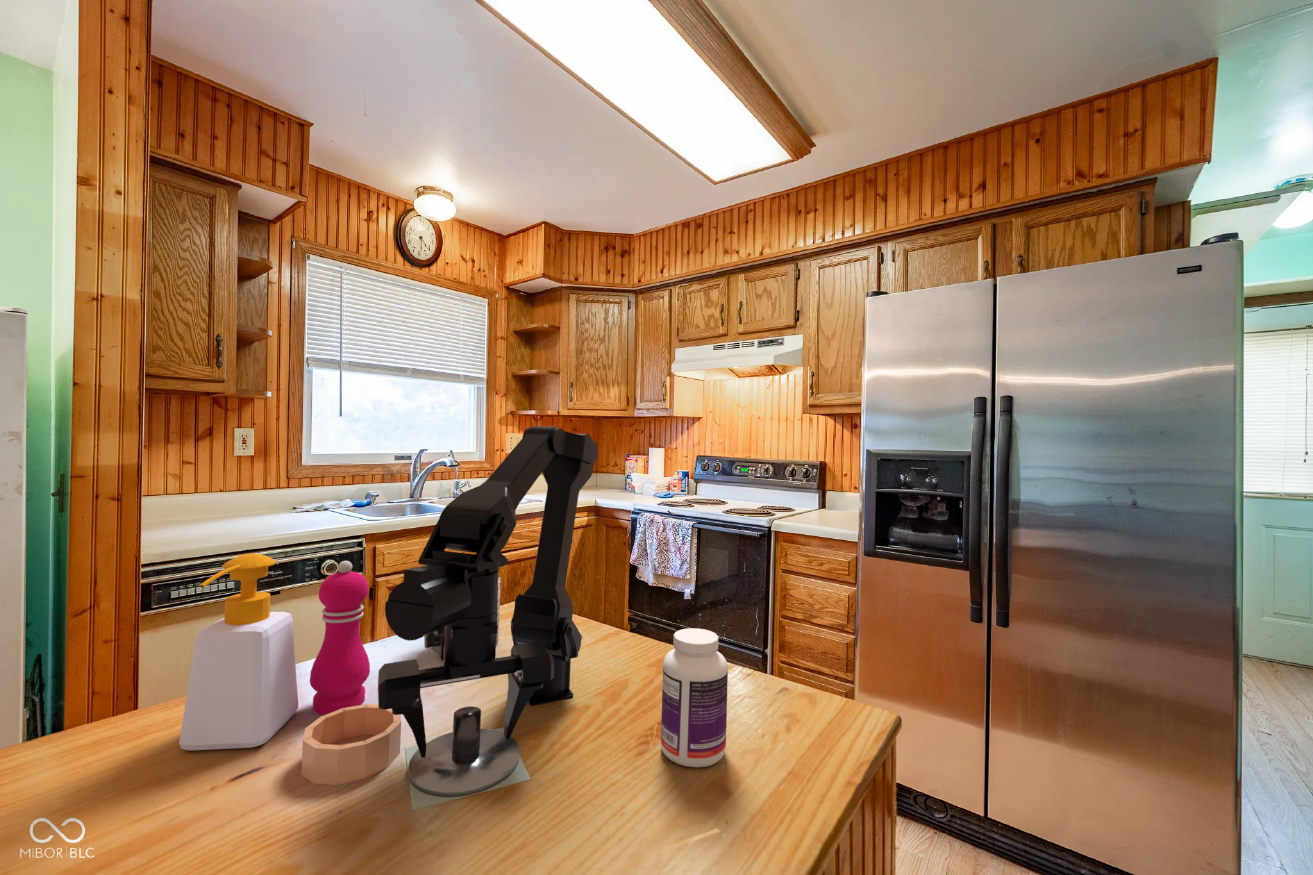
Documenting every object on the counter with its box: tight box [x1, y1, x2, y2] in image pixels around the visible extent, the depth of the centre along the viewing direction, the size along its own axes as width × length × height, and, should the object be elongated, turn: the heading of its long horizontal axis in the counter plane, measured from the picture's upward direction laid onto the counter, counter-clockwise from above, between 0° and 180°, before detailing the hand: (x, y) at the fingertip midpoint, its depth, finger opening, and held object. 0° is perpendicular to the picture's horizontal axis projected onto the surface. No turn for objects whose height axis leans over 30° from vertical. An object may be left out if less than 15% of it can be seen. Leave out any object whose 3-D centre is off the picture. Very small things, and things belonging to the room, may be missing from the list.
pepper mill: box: [309, 560, 371, 716], centre depth 75 cm, size 7×7×20 cm
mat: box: [404, 726, 531, 812], centre depth 63 cm, size 12×12×1 cm
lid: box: [407, 705, 520, 797], centre depth 63 cm, size 12×12×6 cm
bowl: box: [300, 703, 402, 786], centre depth 63 cm, size 10×10×4 cm
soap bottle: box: [178, 552, 299, 751], centre depth 66 cm, size 10×14×22 cm
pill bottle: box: [660, 627, 729, 768], centre depth 67 cm, size 8×8×14 cm
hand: (466, 746), depth 63 cm, fingers open, 9 cm apart
